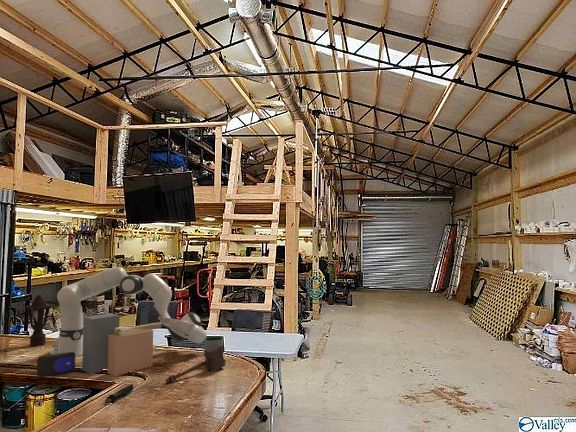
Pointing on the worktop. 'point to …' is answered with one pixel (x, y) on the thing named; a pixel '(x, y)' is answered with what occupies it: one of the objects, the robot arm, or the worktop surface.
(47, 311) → the lantern
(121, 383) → the worktop surface
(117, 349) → the tan upright block
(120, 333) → the T-bar
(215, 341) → the grey green cup
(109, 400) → the electric trimmer
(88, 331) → the grey upright block
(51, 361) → the leaning round-cornered charcoal block
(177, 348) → the worktop surface
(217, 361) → the hammer
